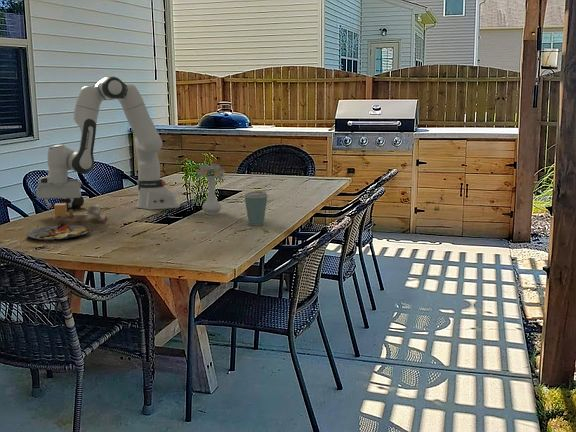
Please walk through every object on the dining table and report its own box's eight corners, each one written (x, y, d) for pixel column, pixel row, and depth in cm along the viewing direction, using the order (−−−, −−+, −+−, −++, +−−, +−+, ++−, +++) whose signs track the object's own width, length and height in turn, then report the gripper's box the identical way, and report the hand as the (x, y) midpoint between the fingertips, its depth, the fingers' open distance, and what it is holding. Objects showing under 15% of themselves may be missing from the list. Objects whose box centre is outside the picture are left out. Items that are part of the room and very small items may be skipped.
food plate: (69, 227, 287) (69, 219, 287) (101, 235, 273) (100, 227, 272) (16, 238, 269) (15, 229, 268) (46, 247, 254) (46, 238, 253)
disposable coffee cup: (250, 227, 288) (249, 194, 286) (240, 223, 298) (240, 190, 295) (271, 225, 293) (271, 192, 290) (261, 221, 303) (261, 189, 300)
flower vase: (227, 210, 330) (227, 161, 325) (221, 217, 312) (220, 165, 307) (202, 210, 331) (201, 161, 326) (194, 216, 313) (193, 165, 308)
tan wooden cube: (67, 214, 318) (66, 203, 317) (65, 216, 313) (65, 204, 312) (56, 214, 317) (55, 203, 316) (54, 216, 312) (54, 205, 311)
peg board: (106, 217, 310) (105, 203, 309) (103, 223, 297) (103, 208, 295) (62, 218, 307) (61, 204, 305) (57, 224, 293) (56, 209, 292)
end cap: (71, 211, 327) (70, 197, 326) (60, 210, 330) (59, 196, 328) (84, 207, 336) (83, 194, 335) (73, 206, 339) (72, 194, 337)
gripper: (81, 177, 316) (82, 205, 319) (37, 178, 313) (38, 206, 315) (80, 179, 310) (81, 208, 313) (34, 179, 307) (36, 208, 309)
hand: (59, 207), depth 314 cm, fingers open, 8 cm apart
